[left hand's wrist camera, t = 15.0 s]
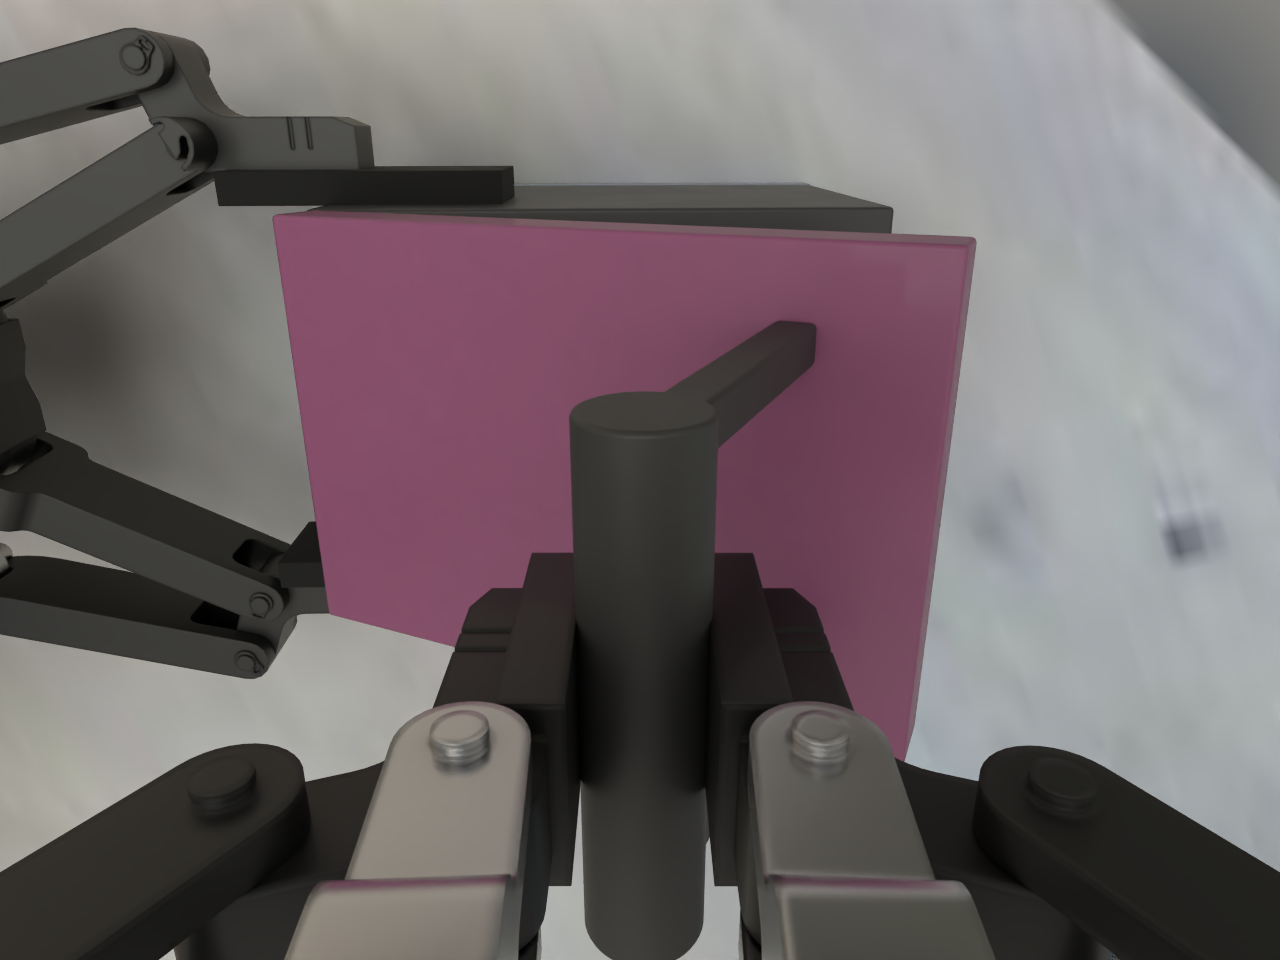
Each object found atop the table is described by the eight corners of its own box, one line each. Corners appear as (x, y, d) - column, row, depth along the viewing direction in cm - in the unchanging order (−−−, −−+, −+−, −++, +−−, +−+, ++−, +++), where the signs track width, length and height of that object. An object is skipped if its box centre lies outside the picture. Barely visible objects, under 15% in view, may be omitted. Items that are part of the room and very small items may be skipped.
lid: (977, 236, 14) (883, 335, 7) (914, 726, 17) (809, 1111, 11) (316, 210, 19) (-103, 253, 12) (364, 591, 23) (54, 791, 16)
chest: (803, 182, 29) (895, 206, 20) (787, 451, 32) (859, 582, 23) (405, 184, 29) (304, 209, 19) (429, 455, 32) (354, 589, 23)
